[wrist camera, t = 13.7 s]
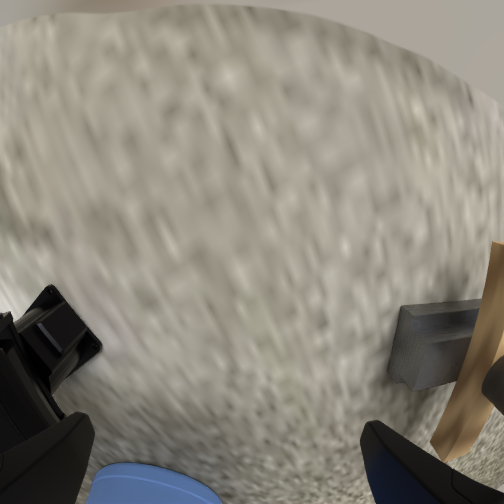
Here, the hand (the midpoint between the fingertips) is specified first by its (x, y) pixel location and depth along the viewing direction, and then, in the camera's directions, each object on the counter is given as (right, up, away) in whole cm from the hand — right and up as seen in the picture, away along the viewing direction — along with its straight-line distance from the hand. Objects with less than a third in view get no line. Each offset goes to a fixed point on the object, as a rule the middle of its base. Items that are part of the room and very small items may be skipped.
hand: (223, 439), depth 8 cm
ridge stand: (+18, -1, +14) cm, 23 cm away
